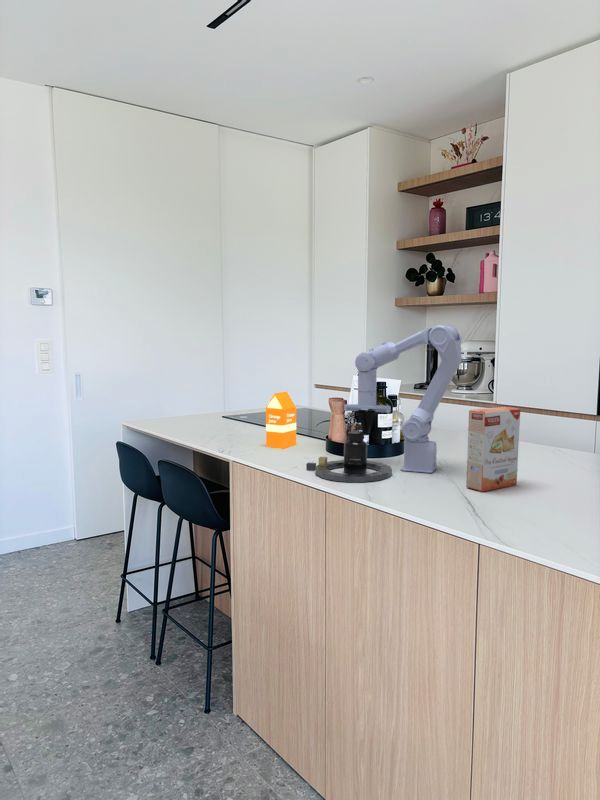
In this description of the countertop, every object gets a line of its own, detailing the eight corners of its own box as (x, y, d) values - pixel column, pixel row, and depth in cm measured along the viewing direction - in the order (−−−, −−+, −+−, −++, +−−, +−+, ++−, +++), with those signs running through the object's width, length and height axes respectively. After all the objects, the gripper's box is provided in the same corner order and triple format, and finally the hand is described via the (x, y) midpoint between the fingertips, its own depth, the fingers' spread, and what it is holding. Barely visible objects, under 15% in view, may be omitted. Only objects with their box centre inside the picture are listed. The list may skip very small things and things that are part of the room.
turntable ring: (398, 467, 177) (399, 455, 176) (380, 484, 157) (380, 470, 156) (330, 462, 185) (330, 450, 185) (304, 477, 165) (304, 464, 165)
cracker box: (483, 493, 149) (485, 411, 146) (465, 488, 154) (467, 409, 151) (518, 485, 156) (521, 407, 154) (500, 480, 161) (502, 405, 159)
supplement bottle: (352, 476, 168) (352, 434, 167) (339, 471, 174) (339, 431, 173) (371, 473, 171) (371, 432, 170) (358, 468, 177) (358, 429, 176)
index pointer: (316, 469, 176) (316, 463, 176) (313, 470, 175) (313, 464, 175) (308, 468, 177) (308, 462, 177) (306, 470, 176) (306, 463, 176)
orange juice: (296, 445, 217) (296, 391, 214) (283, 449, 209) (282, 393, 207) (279, 443, 221) (278, 391, 219) (265, 447, 213) (264, 392, 211)
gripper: (393, 390, 182) (392, 433, 184) (349, 389, 188) (348, 431, 189) (387, 392, 176) (387, 437, 177) (341, 391, 181) (341, 434, 183)
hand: (366, 434), depth 183 cm, fingers closed
